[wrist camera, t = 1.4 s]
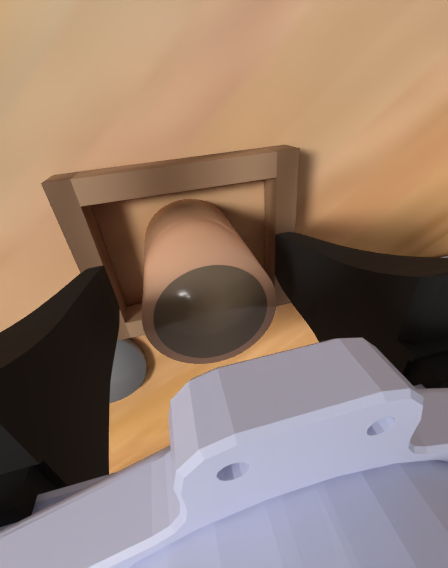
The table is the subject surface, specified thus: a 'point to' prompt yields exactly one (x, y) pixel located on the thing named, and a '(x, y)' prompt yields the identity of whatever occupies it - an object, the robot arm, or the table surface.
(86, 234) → the frame
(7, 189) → the table surface
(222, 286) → the clay pot
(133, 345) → the glossy gray dome
